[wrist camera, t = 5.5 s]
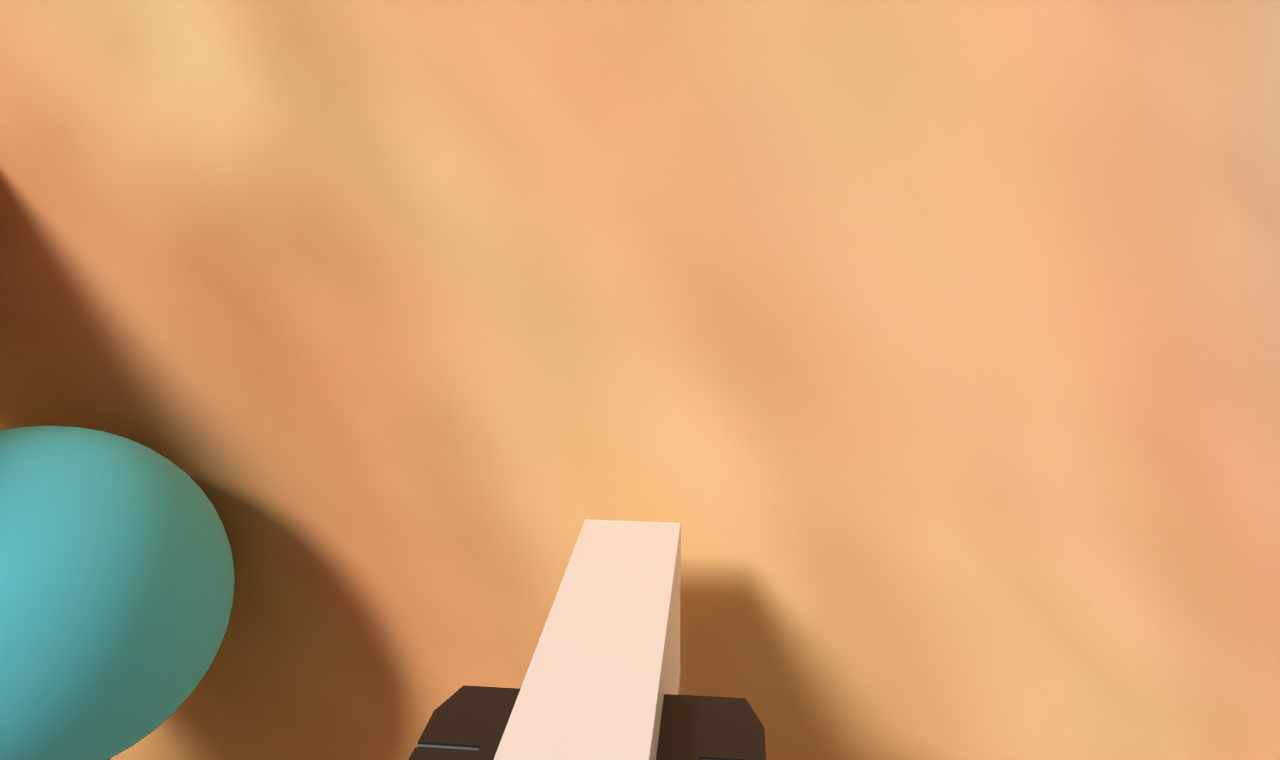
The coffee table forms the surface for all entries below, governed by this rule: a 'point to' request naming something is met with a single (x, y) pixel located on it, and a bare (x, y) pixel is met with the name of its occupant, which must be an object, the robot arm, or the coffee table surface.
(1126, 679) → the coffee table surface
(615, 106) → the coffee table surface
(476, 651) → the coffee table surface
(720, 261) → the coffee table surface
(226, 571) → the ball
